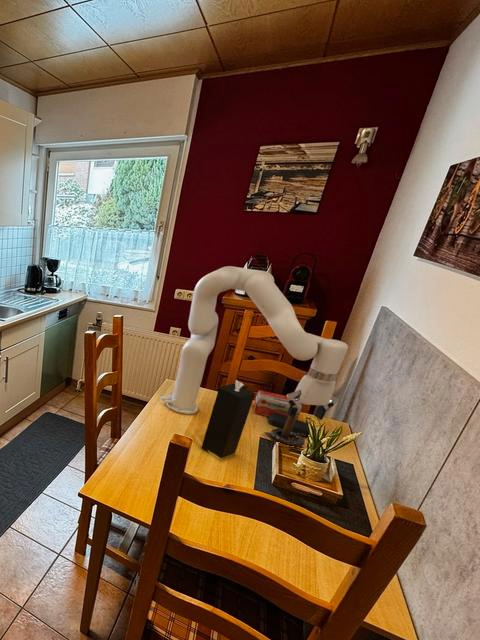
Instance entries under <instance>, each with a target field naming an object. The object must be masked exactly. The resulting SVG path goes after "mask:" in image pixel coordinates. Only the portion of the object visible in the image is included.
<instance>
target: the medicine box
mask: <svg viewBox="0 0 480 640" xmlns="http://www.w3.org/2000/svg"><path fill="white" fill-rule="evenodd" d="M255 396H256V397H255V398H254V401H253V402H254V403H253V413H254V414H257V415H261V416H265V417H268V418H269V415H270V414H273V413H276V414H280V415H283V416H286V417H288V416H289V415H288V414H287V413H288V410H289V407H290V404H289V403H288V401H287V396H286V395H283V394H278V393H275V392H270V391H266V390H265V391H264V390H261V389H260V390H258V392H257V394H256V395H255ZM293 400H294V398H293ZM297 402H298V401H297ZM297 402H296V403H297ZM296 403H295V404H296ZM297 408H298V411H297V413H296V417H297V418H296V420H299V417H300V414H301V411H302V408H303V407H302V404H301V405H300V406H298V407H297Z"/></svg>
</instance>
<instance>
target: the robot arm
mask: <svg viewBox="0 0 480 640" xmlns="http://www.w3.org/2000/svg"><path fill="white" fill-rule="evenodd" d="M229 290H234V291H235V290H237V291H241V292H245V293H246V294H247V296H248V298H250V300H251V301H252V302H253V304H254V305H255V306H256V308H257V309H258V310H259V311H260V313H261V314H262V316H263V317H264V318H265V320H266V321H267V324H268V325H269V326H270V328H271V329H272V331H273V332H274V335H275V336H276V337H277V339H278V340H279V342H280V343H281V344H282V346H283V347H284V349H285V350H286V351H287V352H288V354H289V355H290V356H291V357H292V358H293V359H296V360H298V361H309V360H311V359H313V360H312V362H311V364H310V367H309V368H308V371H307V374H304V375H303V376H302V377H301V379H300V381H299V382H298V384H297V386H296V388H295V390H294V391H293V392H290V393H287V394H286V395H285V396H287V401H288V403H289V404H290V407H289V410H288V413H287V414H288V415H289V416H290V417H292V418H295V416H296V413H297V411H298V408H297V407H298V406H300V405H301V406H302V405H308V406H317V408H316V410H315V413H314V417H315V418H317V419H318V420H319V421H322V420H323V419H324V416H325V414H326V412H327V411H329V410H330V408H332V407H334V406H335V404H336V403H337V402H339V398H337V397H336V396H334V395H333V394H334V391H335V387H336V378H337V377H339V376H340V373H339V371H340V368H341V366H342V364H343V362H344V359H345V357H346V354H347V352H348V349H349V345H348V344H347V343H346V342H344V341H341V340H338V339H332V338H325V337H321V336H318V335H315V334H314V333H313V334H312V333H309V332H306V331H305V330H304V328H303V327H302V325H301V323H300V321H299V320H298V318H297V315H296V312H295V309H294V307H293V305H292V304H291V302H290V301H289V300H288V299H287V297H286V296H285V295H284V294H283V292H282V291H281V290H280V289H279V286H277V285H276V283H275V278H274V276H273V275H272V274H271V272H268V271H265V270H259V269H254V268H253V269H252V268H246V267H240V266H239V267H238V266H232V265H227V266H223V267H220V268H218V269H216V270H214V271H212V272H210V273H207V274H206V275H204V276H203V277H202V278H200V279H199V280H198V282H197V283H196V284H195V287H194V289H193V293H192V299H191V305H190V310H189V316H188V321H187V322H188V323H187V326H188V330H189V332H190V338H189V339H188V340H187V341H186V342H185V344H183V347H182V349H181V353H180V359H179V364H178V369H177V373H176V377H175V381H174V382H175V383H174V386H173V390H172V393H170V394H169V395H168V396H164V395H163V396H162V395H161V396H159V401H161V402H164V404H166V406H167V407H168V408H169V409H170V410H172V411H174V412H176V413H179V414H182V415H183V414H184V415H194V414H196V413H198V411H199V407H198V405H197V404H196V402H197V399H198V395H199V392H200V388H201V386H202V385H201V384H202V381H203V376H204V373H205V369H206V364H207V360H208V357H209V355H210V354H211V352H212V351H213V349H214V347H215V344H216V339H217V333H218V328H219V327H218V326H219V316H218V313H217V311H216V306H217V299H218V295H219V294H220V293H223V292H226V291H229ZM293 398H294V400H293ZM297 401H298V402H297ZM296 402H297V403H296ZM295 403H296V404H295Z"/></svg>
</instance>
